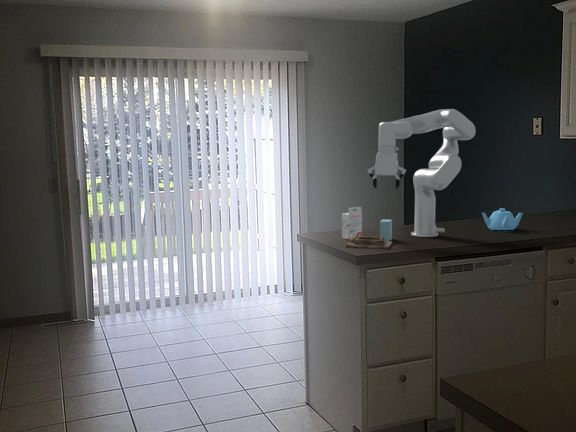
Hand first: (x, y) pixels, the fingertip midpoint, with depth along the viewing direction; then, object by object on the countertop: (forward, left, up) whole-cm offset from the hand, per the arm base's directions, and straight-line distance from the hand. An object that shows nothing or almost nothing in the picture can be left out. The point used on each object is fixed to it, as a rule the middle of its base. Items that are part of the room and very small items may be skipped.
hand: (386, 188), depth 287 cm
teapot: (-52, -46, -24) cm, 74 cm away
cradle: (+5, +16, -24) cm, 29 cm away
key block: (0, 0, -24) cm, 24 cm away
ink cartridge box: (+16, -2, -24) cm, 29 cm away
